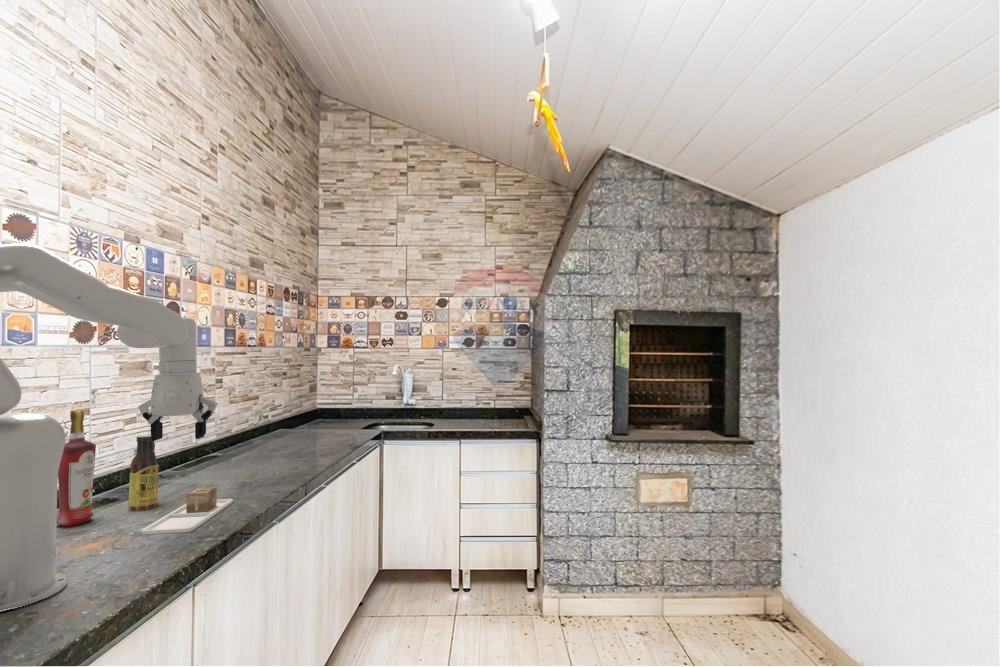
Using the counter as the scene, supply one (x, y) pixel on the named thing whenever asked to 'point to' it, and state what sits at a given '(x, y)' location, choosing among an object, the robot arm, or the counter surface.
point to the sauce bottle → (143, 476)
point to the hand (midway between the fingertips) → (178, 438)
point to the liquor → (76, 475)
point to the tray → (183, 520)
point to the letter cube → (201, 500)
